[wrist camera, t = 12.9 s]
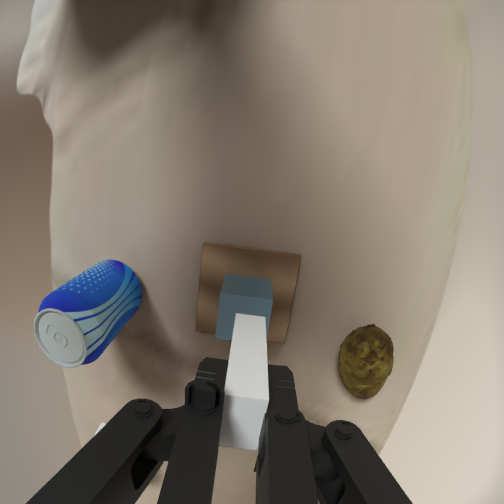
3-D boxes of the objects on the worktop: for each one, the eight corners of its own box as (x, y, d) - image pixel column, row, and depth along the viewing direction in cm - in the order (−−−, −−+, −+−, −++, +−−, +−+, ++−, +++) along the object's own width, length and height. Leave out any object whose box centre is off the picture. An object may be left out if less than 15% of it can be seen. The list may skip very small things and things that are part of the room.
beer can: (135, 251, 41) (74, 294, 25) (153, 309, 43) (107, 374, 27) (84, 263, 41) (16, 305, 26) (103, 317, 43) (47, 376, 28)
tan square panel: (204, 242, 40) (194, 255, 34) (299, 255, 40) (307, 270, 34) (196, 327, 43) (187, 351, 37) (283, 339, 43) (287, 364, 37)
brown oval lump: (320, 385, 45) (329, 419, 37) (340, 309, 42) (356, 337, 34) (370, 386, 45) (385, 418, 38) (394, 313, 42) (417, 340, 34)
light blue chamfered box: (226, 273, 40) (220, 292, 34) (270, 279, 40) (273, 299, 34) (221, 314, 41) (215, 338, 35) (264, 319, 42) (265, 345, 35)
